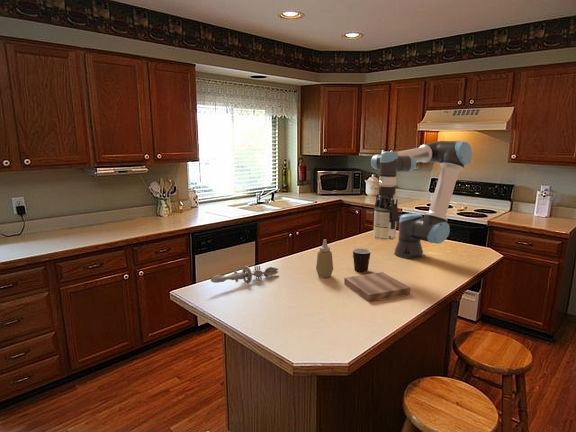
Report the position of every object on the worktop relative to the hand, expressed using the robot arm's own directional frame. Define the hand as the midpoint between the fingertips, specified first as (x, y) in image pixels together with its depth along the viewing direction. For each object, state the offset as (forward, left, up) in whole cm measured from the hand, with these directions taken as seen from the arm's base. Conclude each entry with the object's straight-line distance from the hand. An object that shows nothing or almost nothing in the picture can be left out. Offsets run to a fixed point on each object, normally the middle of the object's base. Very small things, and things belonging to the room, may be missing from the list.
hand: (384, 233), depth 177 cm
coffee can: (0, 0, -2) cm, 2 cm away
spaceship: (+64, -13, -21) cm, 68 cm away
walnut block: (+13, +14, -20) cm, 28 cm away
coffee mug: (+8, -8, -21) cm, 23 cm away
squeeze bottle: (+27, -8, -21) cm, 35 cm away
